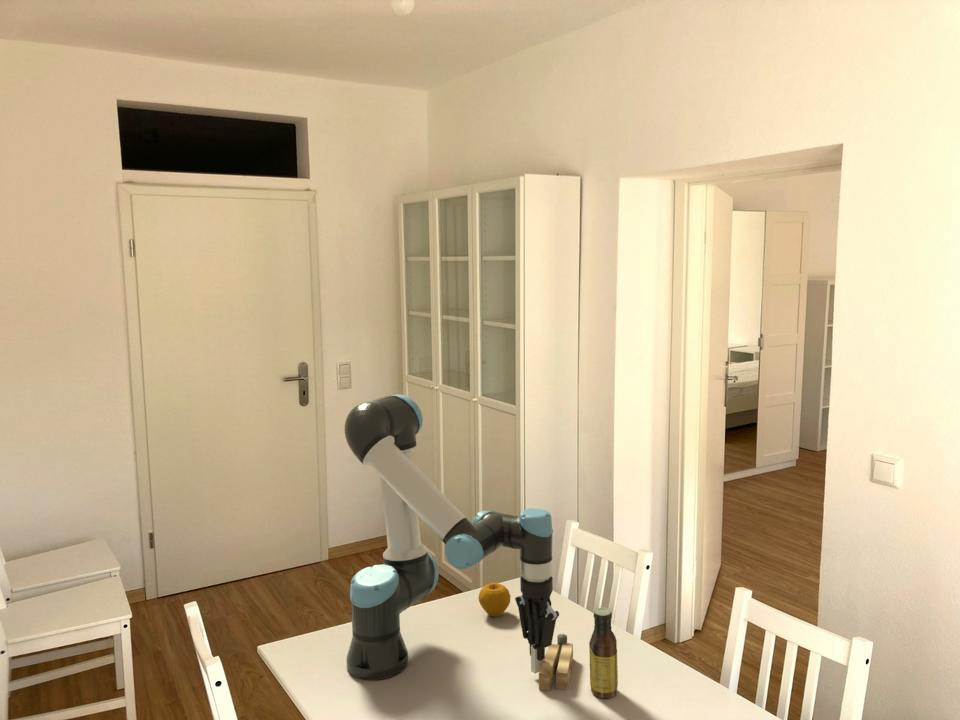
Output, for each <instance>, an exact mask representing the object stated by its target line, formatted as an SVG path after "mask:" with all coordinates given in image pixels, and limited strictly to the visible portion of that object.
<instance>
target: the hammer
mask: <svg viewBox="0 0 960 720" xmlns="http://www.w3.org/2000/svg"><path fill="white" fill-rule="evenodd" d="M556 636H557V639H556V641H557V645H560V658H559V663H558V667H557V670H556V673H555V676H556V678H555V679H556V683H555V684H556V685H555V686H556V689H557V690H565V691H566V690H568V688H569V683H570V677H571V672H572V666H573V662H574V661H573V660H574V644H573V643H569V642H568V635H567V634H565V633H559V634H558V635H556Z"/></svg>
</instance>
